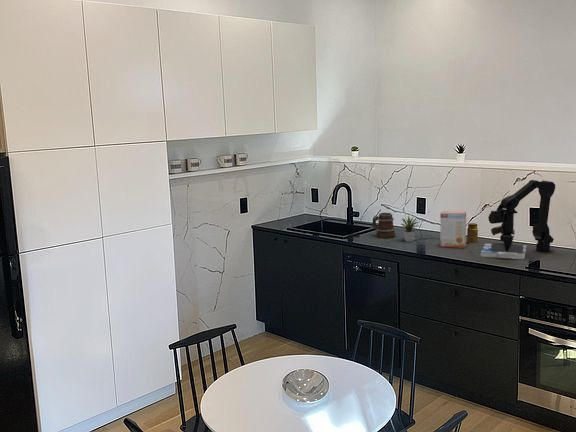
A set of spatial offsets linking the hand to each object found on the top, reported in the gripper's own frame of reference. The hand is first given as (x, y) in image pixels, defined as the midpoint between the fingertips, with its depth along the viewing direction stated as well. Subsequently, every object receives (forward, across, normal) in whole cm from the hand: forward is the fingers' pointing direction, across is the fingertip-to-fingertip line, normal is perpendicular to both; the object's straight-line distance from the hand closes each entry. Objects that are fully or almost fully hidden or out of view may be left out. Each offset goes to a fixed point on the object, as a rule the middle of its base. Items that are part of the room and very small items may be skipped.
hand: (507, 250), depth 322 cm
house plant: (+4, -25, -59) cm, 64 cm away
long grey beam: (+1, 0, 0) cm, 1 cm away
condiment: (+4, -27, -22) cm, 35 cm away
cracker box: (+4, -17, -31) cm, 36 cm away
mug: (+4, -35, -78) cm, 86 cm away
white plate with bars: (+4, -5, -2) cm, 7 cm away
